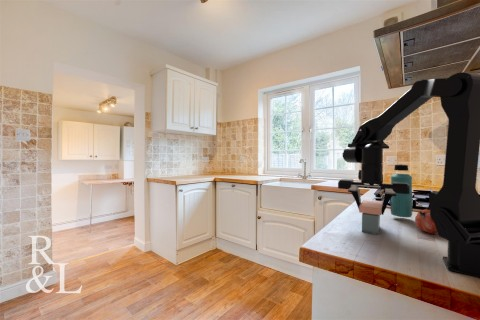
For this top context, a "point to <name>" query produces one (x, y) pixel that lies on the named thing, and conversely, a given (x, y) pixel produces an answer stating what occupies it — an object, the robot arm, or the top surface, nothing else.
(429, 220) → the pomegranate
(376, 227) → the box
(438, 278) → the top surface
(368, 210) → the lid
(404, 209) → the beverage bottle
